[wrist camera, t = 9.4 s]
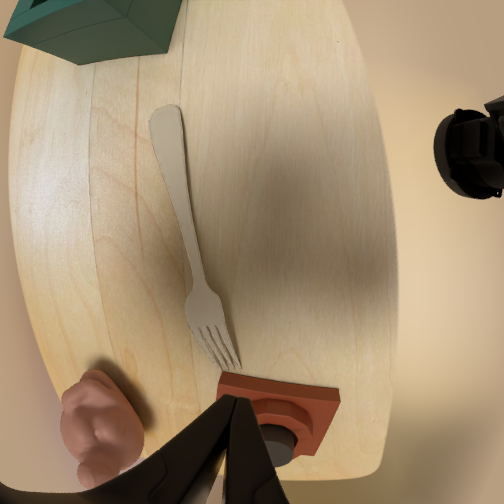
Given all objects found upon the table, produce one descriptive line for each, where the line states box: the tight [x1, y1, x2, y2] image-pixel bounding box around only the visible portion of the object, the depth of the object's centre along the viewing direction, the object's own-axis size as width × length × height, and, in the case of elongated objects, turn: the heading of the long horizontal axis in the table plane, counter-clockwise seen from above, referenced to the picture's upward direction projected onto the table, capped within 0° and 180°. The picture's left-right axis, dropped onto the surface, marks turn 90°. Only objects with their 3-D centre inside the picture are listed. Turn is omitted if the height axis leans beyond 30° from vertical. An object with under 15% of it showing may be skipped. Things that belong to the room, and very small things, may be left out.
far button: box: [260, 423, 294, 467], centre depth 20 cm, size 4×4×2 cm
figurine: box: [60, 369, 144, 490], centre depth 20 cm, size 9×11×12 cm
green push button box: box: [3, 0, 182, 65], centre depth 12 cm, size 9×7×10 cm
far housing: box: [216, 372, 341, 459], centre depth 22 cm, size 10×8×4 cm
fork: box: [149, 105, 241, 370], centre depth 20 cm, size 3×21×3 cm, turn 12°
